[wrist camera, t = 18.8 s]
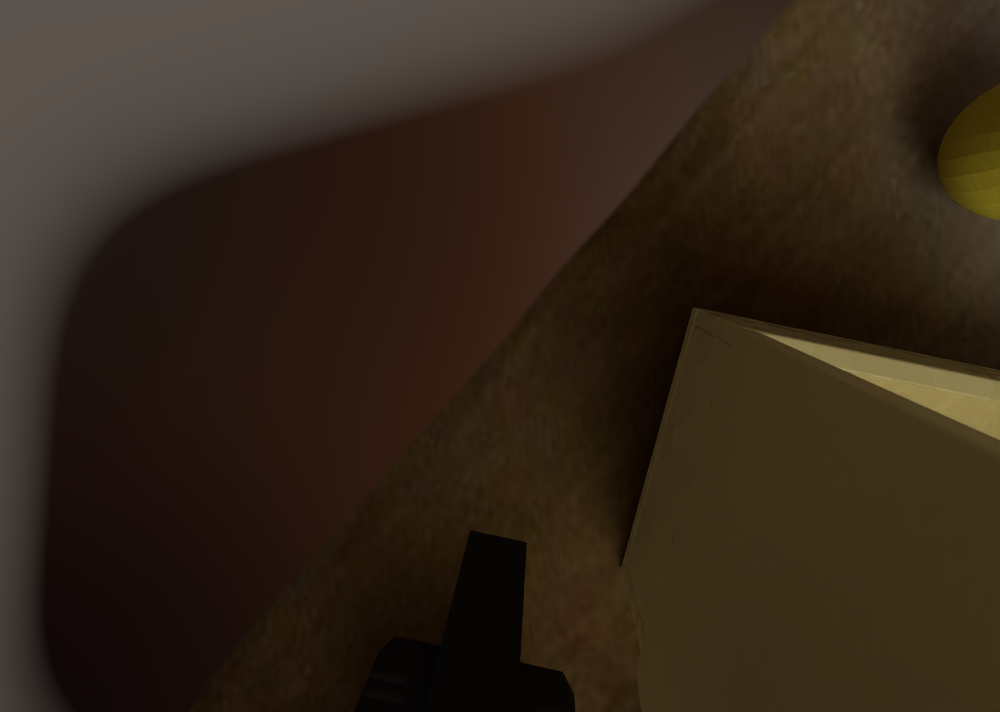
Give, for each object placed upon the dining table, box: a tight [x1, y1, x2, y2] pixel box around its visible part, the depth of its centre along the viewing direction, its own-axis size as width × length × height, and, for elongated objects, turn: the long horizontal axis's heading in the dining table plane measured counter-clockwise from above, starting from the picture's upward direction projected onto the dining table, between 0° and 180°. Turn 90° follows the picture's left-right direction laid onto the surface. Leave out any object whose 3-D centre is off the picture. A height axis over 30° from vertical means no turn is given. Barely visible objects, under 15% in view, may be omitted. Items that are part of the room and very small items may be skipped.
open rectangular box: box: [621, 307, 1000, 650], centre depth 24 cm, size 20×15×7 cm
